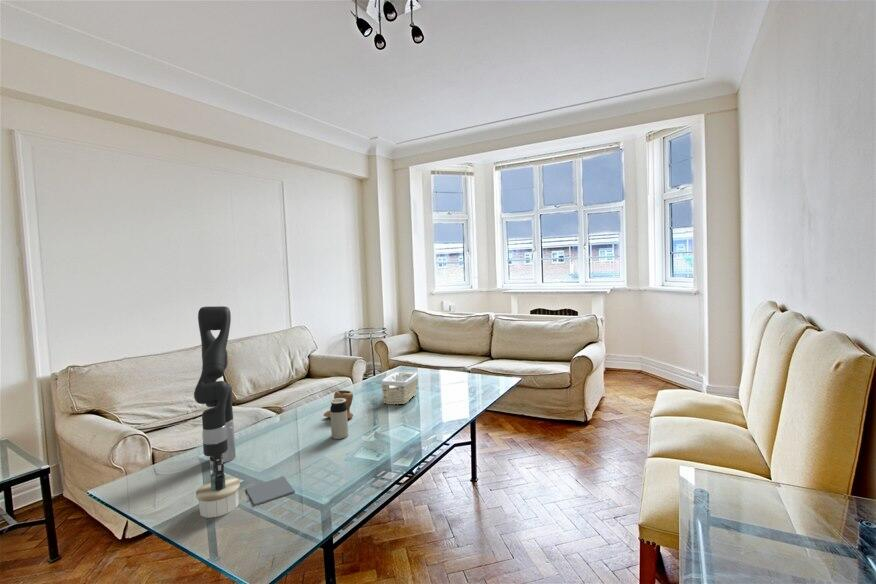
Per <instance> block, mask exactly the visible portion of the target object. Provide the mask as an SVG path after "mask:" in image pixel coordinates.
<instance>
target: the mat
mask: <svg viewBox="0 0 876 584" xmlns="http://www.w3.org/2000/svg"><path fill="white" fill-rule="evenodd" d="M245 490H246V492H247V495H248V496H249V498H250V500H251V501H252V504H253V506H254V507H255V506H258V505H260V504H265V503H268V502H271V501H272V500H276V499H279V498H282V497H283V498H284V497H285V496H288V494H289V495H290V493H292V494H294V493H295V492H296V490H295V489H294V488H293V486H292V485H291V484H290V483H289V481H288V480H287V479H286V477H285V476H280V477H277V478H275V479H271V480H268V481H264V482H262V483H258V484H255V485H252V486H251V485H250V486H247V487H245ZM293 492H294V493H293Z"/></svg>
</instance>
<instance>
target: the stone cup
mask: <svg viewBox="0 0 876 584" xmlns="http://www.w3.org/2000/svg"><path fill="white" fill-rule="evenodd" d="M337 398H344V399H346V402H345V404H346V405H347V419H348V420H349V419H352V418H353V417H354V414H353V413H352V412H351V410H350V409H351V405H352V403H353V399H354V394H353V392H352V391H351V390H345V389H343V390H342V389H337V390H336V391H335V392H334V396H333V399H337ZM323 416H324V417H326V418H328V419H329V418H330V419H331V414H330V410H328V411H326V412H324V413H323Z"/></svg>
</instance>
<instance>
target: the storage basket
mask: <svg viewBox="0 0 876 584" xmlns="http://www.w3.org/2000/svg"><path fill="white" fill-rule="evenodd" d="M404 377H405V379H404ZM418 378H419V375H418V372H411V371H408V372H407V371H395V372H393V373H391V374H390V375H388V376H386V377H385V378H382V380H381V381H380V382H381V384H380V385H381V391H382V392H381V393H382V400H383V401H382V402H383V404H385V403H386V405H395V404H397V405H398V404H405V403H406V404H407V403H408V402H410V401H411V400H412V399H413V398H414V397H415V396H417V394H416V393H418V392H417V390H418ZM414 395H415V396H414ZM413 396H414V397H413ZM412 397H413V398H412ZM411 398H412V399H411ZM410 399H411V400H410ZM409 400H410V401H409ZM406 404H405V405H406Z"/></svg>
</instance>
